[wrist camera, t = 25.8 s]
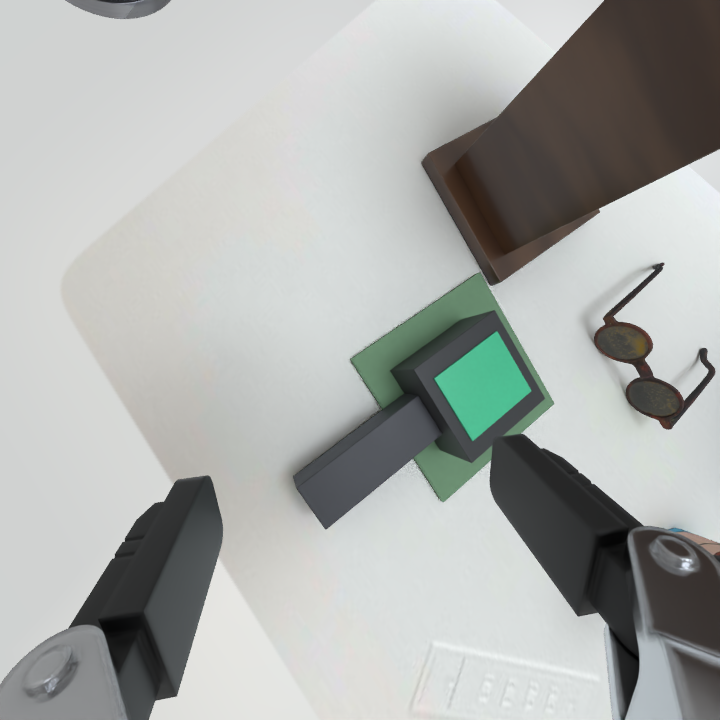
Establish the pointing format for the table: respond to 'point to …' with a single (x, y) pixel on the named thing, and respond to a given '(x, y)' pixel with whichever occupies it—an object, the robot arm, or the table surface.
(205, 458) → the table surface
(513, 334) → the mat
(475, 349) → the green-topped block with handle
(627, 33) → the stand
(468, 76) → the table surface
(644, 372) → the eyeglasses
